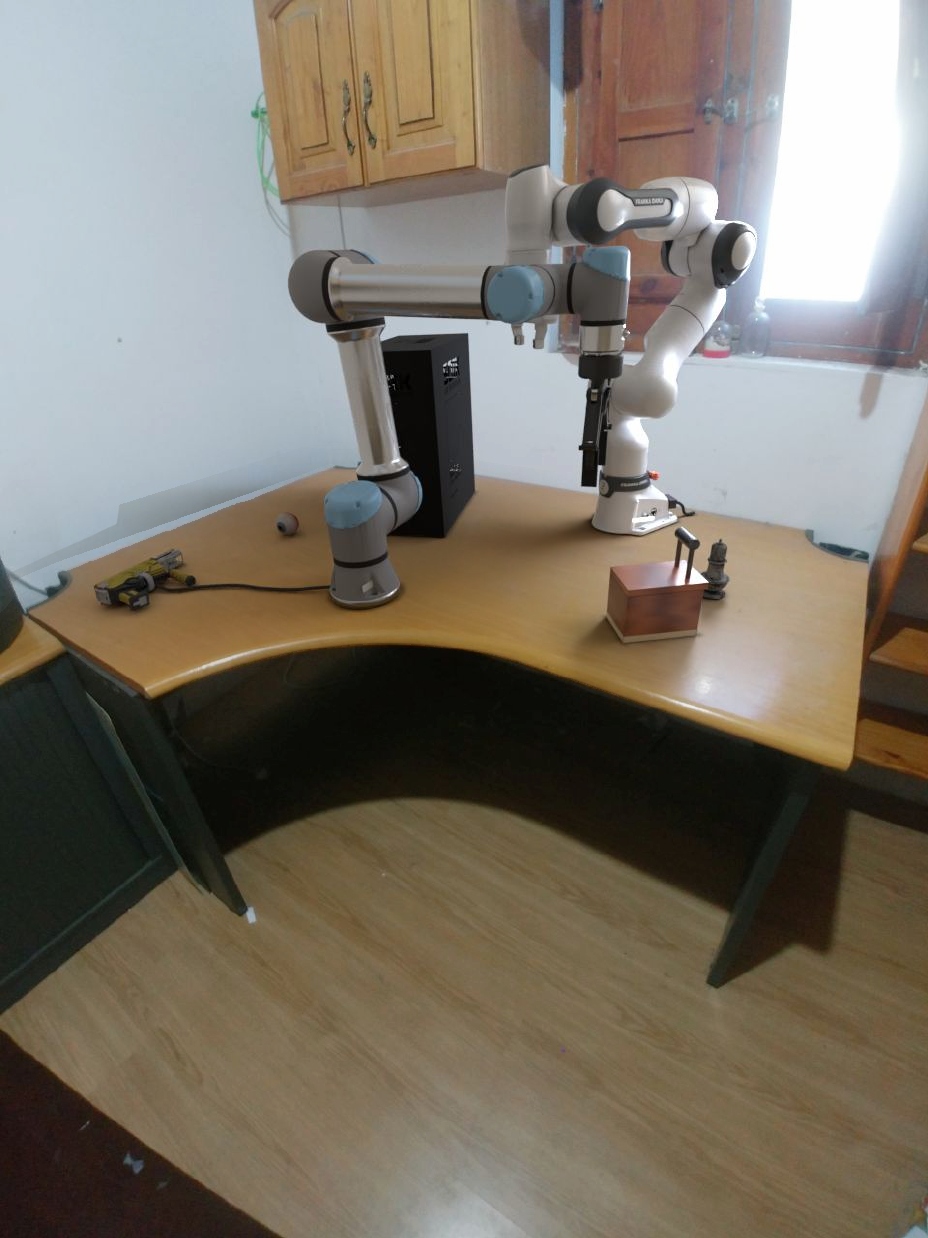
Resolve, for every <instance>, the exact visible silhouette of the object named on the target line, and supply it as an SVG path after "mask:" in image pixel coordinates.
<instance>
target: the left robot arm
mask: <svg viewBox="0 0 928 1238" xmlns="http://www.w3.org/2000/svg"><path fill="white" fill-rule="evenodd" d="M630 283H631V251H630V249H629V247H627V246H625V245H612V246H611V245H609V246H596V247H587V248H585V249H584V251H583V255H582V258H581V261H578V262H573V263H552V264H542V265H537V264H533V265H526V266H524V265H510V266H508V265H502V264H501V265H499V264H498V265H489V264H487V265H486V264H483V265H481V264H399V263H398V264H397V263H395V264H394V263H393V264H390V263H389V264H388V263H384V264H383V263H380V262H379V260H377V259H376V258H375V257H374V256H372V255H371V254H370V253H367V252H365V251H360V250H357V249H353V248H351V249H314V250H309V251H307V252H304V253H303V254H301V255H299V256H298V257H297V258H296V259H295V260H294V261H293V263H292V265H291V267H290V269H289V272H288V278H287V289H288V294H289V297H290V300H291V302H292V303H293V306H294V307H295V309H296V310H297V311H298V313H300V314H301V315H302V316H303V317H304V318H305V319H307V320H309V321H312V322H314V323H317V324H324V325H325V331H326V335H328V337H330V338H332V340H334V341H335V342H336V345H337V350H338V354H339V360H340V364H341V371H342V375H343V380H344V383H345V384H344V385H345V388H346V394H347V399H348V404H349V410H350V414H351V420H352V424H353V429H354V434H355V440H356V443H357V444H356V445H357V448H358V454H359V458H360V464H359V466H358V467H357V468H356V470H355V474H356V478H357V480H351V481H348V482H347V483H340V484H339V485H336V486H334V487H333V488H332V489H330V490H329V491H328V492H327V493H326V494H325V497H324V499H323V508H324V514H323V515H324V520H325V522H326V528H327V533H328V539H329V545H330V550H331V555H332V560H333V567H332V574H331V579H330V584H325V585H312V586H302V587H301V586H300V587H275V586H273V587H272V586H260V585H253V584H245V583H215V584H199V585H193V586H185V587H166V586H164V585H161V584H154V585H155V587H154V589H160V590H161V591H164V592H170V593H172V592H173V593H176V592H177V593H179V592H186V591H187V592H188V591H194V590H204V589H205V590H206V589H218V588H245V589H251V590H257V591H258V590H259V591H267V592H268V591H271V592H305V591H317V590H329V594H330V599H331V601H332V602H333V604H334V605H337V606H339V607H342V608H346V609H351V610H364V609H365V610H366V609H373V608H377V607H380V606H383V605H387V604H388V603H391V602H392V601H394V600H395V599H396V598H397V597H398V596H399V595H400V594H401V590H402V587H401V580H400V577H399V575H398V573H397V571H396V569H395V567H394V565H393V563H392V562H391V560H390V559H391V558H390V557H389V551H388V550H389V549H388V541H387V536H388V535H387V534H389V533H390V532H392V531H393V530H394V529H396V528H397V527H398V526H400V525H401V524H402V523H405V522H406V521H408V520H409V519H410V518H411V517H412V516H413V515H414V514H415V513H416V512H417V510H418V509H419V507H420V505H421V501H422V488H421V484H420V482H419V480H418V478H417V477H415V476H414V475H413V472H412V471H410V469H409V464H408V462H407V461H406V460H405V459H403V458H402V457H401V456H400V452H399V446H398V440H397V434H396V429H395V423H394V417H393V411H392V405H391V399H390V393H389V387H390V386H389V387H388V382H387V376H386V370H385V364H384V358H383V352H382V346H381V341H382V340H381V335H382V332H383V331H384V329H385V328H386V326H387V325H386V319H385V317H398V318H426V319H448V320H449V319H450V320H452V319H453V320H475V321H476V320H478V321H495V322H501V323H504V324H508V325H511V324H522V323H523V324H526V323H525V322H528V321H529V320H532V319H535V318H539V317H542V316H546V315H559V316H561V315H579V316H580V321H579V323H580V324H579V336H578V350H579V351H580V352H581V353H580V354H579V355H578V365H577V367H578V368H577V376H578V377H579V378H580V379H583V380H589V379H590V380H591V387H589V389H587V388H586V393H585V400H586V403H585V412H584V421H583V431H582V439H581V444H579V445H578V451H582V459H581V478H580V487H584V488H585V487H586V488H597V487H598V476H599V473H598V472H599V466H601V467H602V466H605V465H606V451H607V437H608V431H605V430H612V424H609V422H610V420H609V408H610V397H611V387H610V382H611V379H615V378H618V377H620V376H621V375H622V371H623V364H624V359H625V357H624V354H623V353H622V352H621V351H623V349H625V340H626V339H625V337H626V338H627V337H629V336H630V332H629V331H630V330H628V329H625V328H626V327H627V326H626V323H627V317H628V315H627V314H628V306H629V305H628V304H629V294H630Z"/></svg>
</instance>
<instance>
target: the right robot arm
mask: <svg viewBox="0 0 928 1238" xmlns="http://www.w3.org/2000/svg"><path fill="white" fill-rule="evenodd" d="M504 193H505V194H504V228H505V232H506V245H505V250H504V253H505V254H504V256H505V258H504V260H503V262H502V264H501V265H508V266H510V265H524V266H526V265H533V264H537V265H542V264H553V263H552V261H553V260H552V259H553V258H552V254H553V251H552V249H553V247H556V248H568V247H577V246H602V245H605V244H607V243H609V242H612V240H614V239H615V238H616V237H618V236H619V235H620V234H623V233H624V232H626V231H633V232H634V234H635V235H636V237H637V238H638V239H640V240H644V241H650V242H661V248H660V262H661V267H662V269H663V270H664V271H665V272H666V273H668V274H670V275H671V276H675V277H677V278H680V277H681V278H683V277H684V278H685V281H684V283H683V286H682V288H681V290H680V292H679V293H678V294H677V295H676V296H675V297H674V298H673V299H672V301H671V302H670V303H669V304H668V305H667V306H666V307H665V309H664V310H663V311H662V313H661V314H660V315H659V316H658V318H657V319H656V320H655V321H654V323H653V324H652V325H651V327H650V328H648V330H647V332H645V335H644V336H643V337H644V338H643V348H644V350H645V351H644V353H643V355H642V357H641V359H640V360H639V361H638V362H637V363H636V364H634V365H633V364H625V363H623V371H622V375H621V376H620V377H618V378H615V379H611V382H610V387H611V397H610V408H609V420H610V422H609V424H612V430H605V431H608V437H607V451H606V465H605V466H602V465H601V468H600V470H599V473H598V492H599V493H598V498H597V502H596V507H595V511H594V514H593V517H592V520H591V525H592V526H593V527H594V528H595V529H597V530H599V531H601V532H605V533H611V534H623V535H625V534H626V535H632V536H633V535H634V536H645V535H646V534H650V533H652V532H654V531H657V530H660V529H662V528H665V527H668V526H670V525H672V524H675V523H677V522H678V516H677V515H676V514H675V513H674V512H672V511H670V510H673V509H677V505H679V506H680V508H681V512H682V514H683V516H686V517H687V516H688V517H690V516H692V515H695V514H696V511H695V510H692V511H689V512H686V507H685V504H683V503H682V502H681V501H679V500H678V499H676V498H675V497H674V496H672V495H670V494H669V493H666V494H665V493H663V492H661V491H660V490H659V489H658V488H656V487H655V486H654V485H652V483H651V480H653V481H658V479H659V478H660V473H659V472H657V471H654V470H651V471H649V470H648V469H647V466H648V458H649V457H648V455H649V446H650V441H649V437H648V435H647V434H646V432H645V431H644V429H643V427H642V424H641V420H656V419H662V418H664V417H666V416H667V415H669V413H670V412H671V411H672V410H673V408H674V406H675V405H676V402H677V399H678V395H679V389H678V388H679V387H678V383H677V377H678V374H679V372H680V370H681V368H682V366H683V364H684V363H685V361H686V360H687V359H688V357H690V355H691V354H692V352H693V351H694V350H695V348H696V347H698V345H699V343H700V342H701V341H702V339H703V338H704V337H705V335H706V334H707V333H708V332H709V330H710V329H711V327H712V326H713V325H714V323H715V321H716V320H717V318H718V317H719V315H720V313H721V311H722V309H723V307H724V305H725V304H726V298H727V295H726V289H729V288H731V287H732V286H734V285H735V284H736V283H737V282H738V281H739V279H740V278H741V277H742V276H744V274H745V273H746V271H747V270H748V268H749V267H750V265H751V263H752V262H753V260H754V258H755V255H756V252H757V246H758V242H757V239H758V238H757V233H756V231H755V228H753V226H751V225H749V224H747V223H746V222H742V221H739V220H733V221H726V220H716V218H715V216H716V214H717V209H718V204H719V200H718V198H719V197H718V194H717V190H716V188H715V186H714V185H712V183H711V182H709V181H707V180H705V179H701V178H696V177H690V176H665V177H659V178H656V179H652V180H650V181H647V182H644V183H642V184H641V185H640V186H639V188H627V187H624V186H623V185H621V184H620V183H618V182H616V181H615V180H613V179H611V178H609V177H606V176H601V177H596V178H593V179H590V180H588V181H585V182H581V183H578V184H573V185H570V184H569V183H566V182H565V181H563V180H562V179H560V178H559V177H557V176H556V175H555V173H554V172H553V171H552V170H551V168H550V165H549V164H548V163H545V162H540V163H536V164H535V163H534V164H532V165H528V166H525V167H521V168H517V169H515V170H513V171H512V172H511V173H510V174H509V176H508V178H507V181H506V185H505V192H504ZM559 317H560V315H546V316H542V317H539V318H535V319H532V320H529V321H528V322H525V323H522V324H510V328H511V332H512V336H513V345H515V346H524V345H525V335H524V333H523V326H524V324H533V325H534V331H535V333H534V338H533V339H532V348H533V349H534V350H543V349H544V348H545V339H546V337H547V333H548V328H549V327H548V325H555V324H557V323H558V320H559ZM589 387H591V380H590V379H588V380H587V388H586V390H587V389H589Z"/></svg>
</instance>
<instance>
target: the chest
mask: <svg viewBox="0 0 928 1238" xmlns="http://www.w3.org/2000/svg"><path fill="white" fill-rule="evenodd" d="M703 592H704V589H701V590H691V591H681V592H671V593H661V594H651V595H641V596H631V597H628V596H627V595H626V594H625V593H624V591H623V590H622V589H621V587H620V586H619V585H618V583H617V582H616V581H615V579H614V578H613V577H612V575H611V574H610V573H609V579H608V591H607V606H606V614H605V615H606V616H605V617H606V619H607V621H608V623H610V625H611V627H612V628H613V630H614V631H615V633H616V635H617V636H618V638H619V639H620V640H621V642H622V644H627V643H637V642H645V641H647V642H648V641H654V640H655V641H656V640H666V639H674V638H675V639H677V638H684V637H693V636H697V635H698V634H697V633H698V627H699V621H700V614H701V609H702V603H703V598H704V597H703Z"/></svg>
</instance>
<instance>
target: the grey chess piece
mask: <svg viewBox="0 0 928 1238" xmlns="http://www.w3.org/2000/svg"><path fill="white" fill-rule="evenodd" d="M727 551H728V545H727V543H724V542H723V538H719V539H718V541H716V542H714V543H713V544H712V545H711V549H710V555H709V556H708V557H707V561H708V564H707V569H706V571H702V572H700V573H699V574H700V575H701V576H703V577H704V578H705V579H706V580H707V581H708V582H709V584H708V589H704V592H703V598H706V599H711V600H717V599H722V598H724V597H725V596H726V591H724V589H725V588H726V586H727V585H728V583H729V582H730V580H731V578H730V576H729V575H728V574H726V573H725V565H726V564H727V562H728V559H726V557H727Z"/></svg>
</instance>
